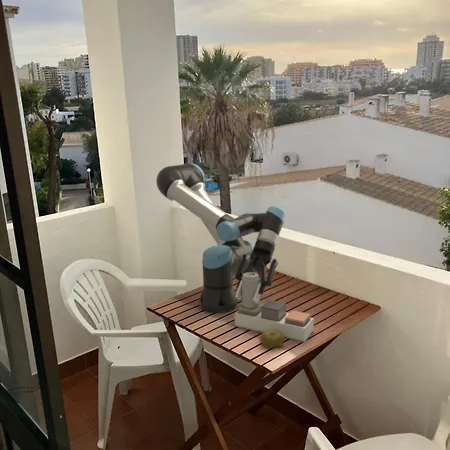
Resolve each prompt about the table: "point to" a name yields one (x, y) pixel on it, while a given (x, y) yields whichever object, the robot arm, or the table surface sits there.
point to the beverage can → (250, 289)
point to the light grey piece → (274, 326)
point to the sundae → (258, 271)
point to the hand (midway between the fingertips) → (246, 300)
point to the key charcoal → (273, 310)
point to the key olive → (250, 310)
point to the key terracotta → (297, 318)
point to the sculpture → (271, 334)
